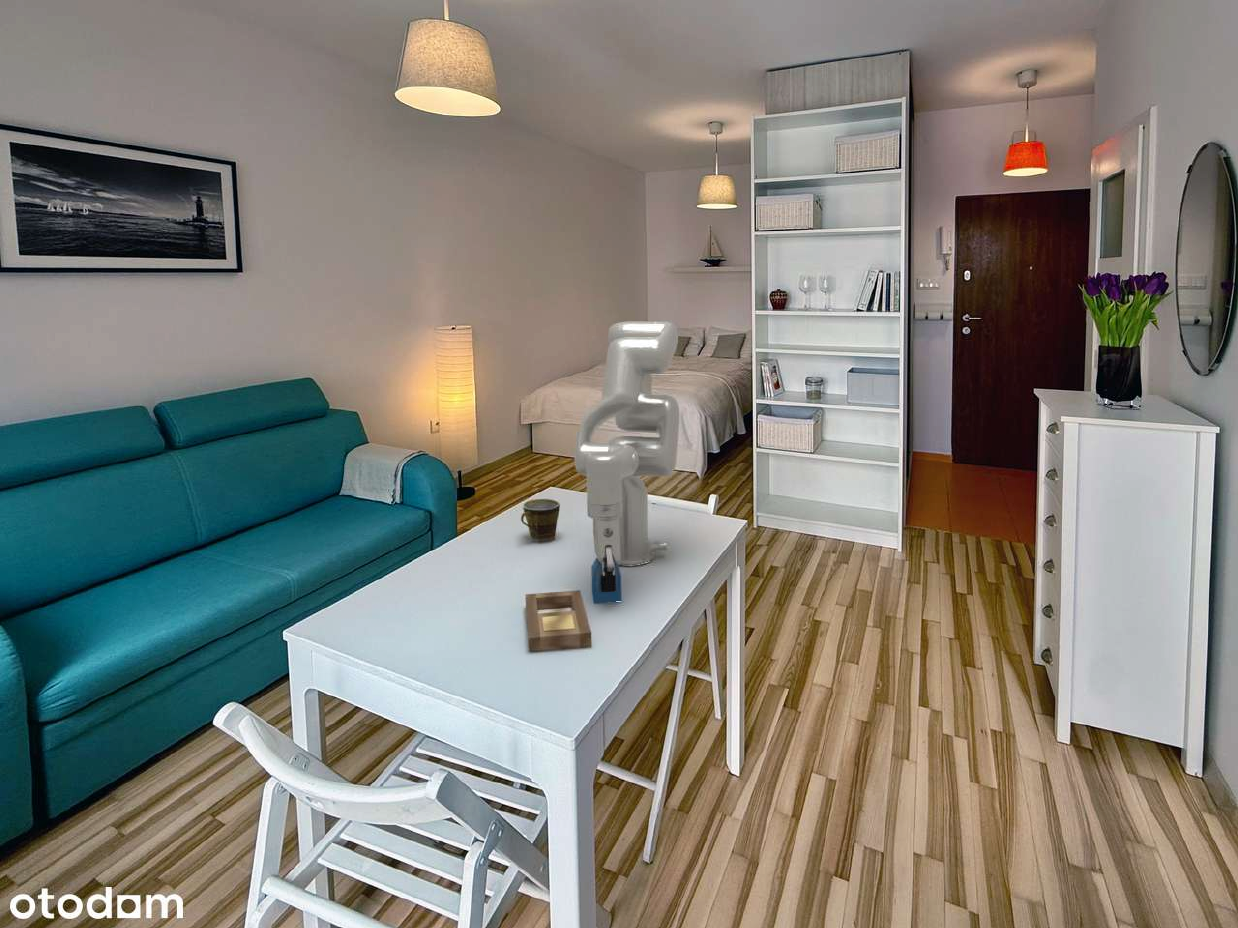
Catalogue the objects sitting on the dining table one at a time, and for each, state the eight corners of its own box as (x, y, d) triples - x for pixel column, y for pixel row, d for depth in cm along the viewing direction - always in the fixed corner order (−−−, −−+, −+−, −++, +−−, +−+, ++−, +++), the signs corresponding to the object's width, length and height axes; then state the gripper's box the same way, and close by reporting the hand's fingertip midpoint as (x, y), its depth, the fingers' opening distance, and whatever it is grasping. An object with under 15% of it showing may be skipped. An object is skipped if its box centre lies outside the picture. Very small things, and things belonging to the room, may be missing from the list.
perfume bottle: (591, 591, 167) (590, 542, 164) (618, 590, 167) (618, 541, 164) (593, 603, 161) (592, 552, 158) (621, 602, 162) (620, 551, 158)
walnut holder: (580, 602, 161) (580, 589, 161) (591, 646, 142) (591, 631, 142) (525, 606, 160) (525, 593, 159) (529, 652, 141) (528, 637, 140)
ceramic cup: (541, 530, 208) (539, 496, 205) (568, 537, 202) (567, 502, 199) (509, 543, 197) (507, 508, 195) (537, 551, 192) (535, 515, 189)
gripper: (628, 520, 151) (629, 599, 156) (615, 495, 168) (616, 568, 172) (592, 522, 150) (594, 602, 155) (583, 497, 167) (585, 570, 171)
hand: (606, 583), depth 163 cm, fingers closed on perfume bottle, 6 cm apart
